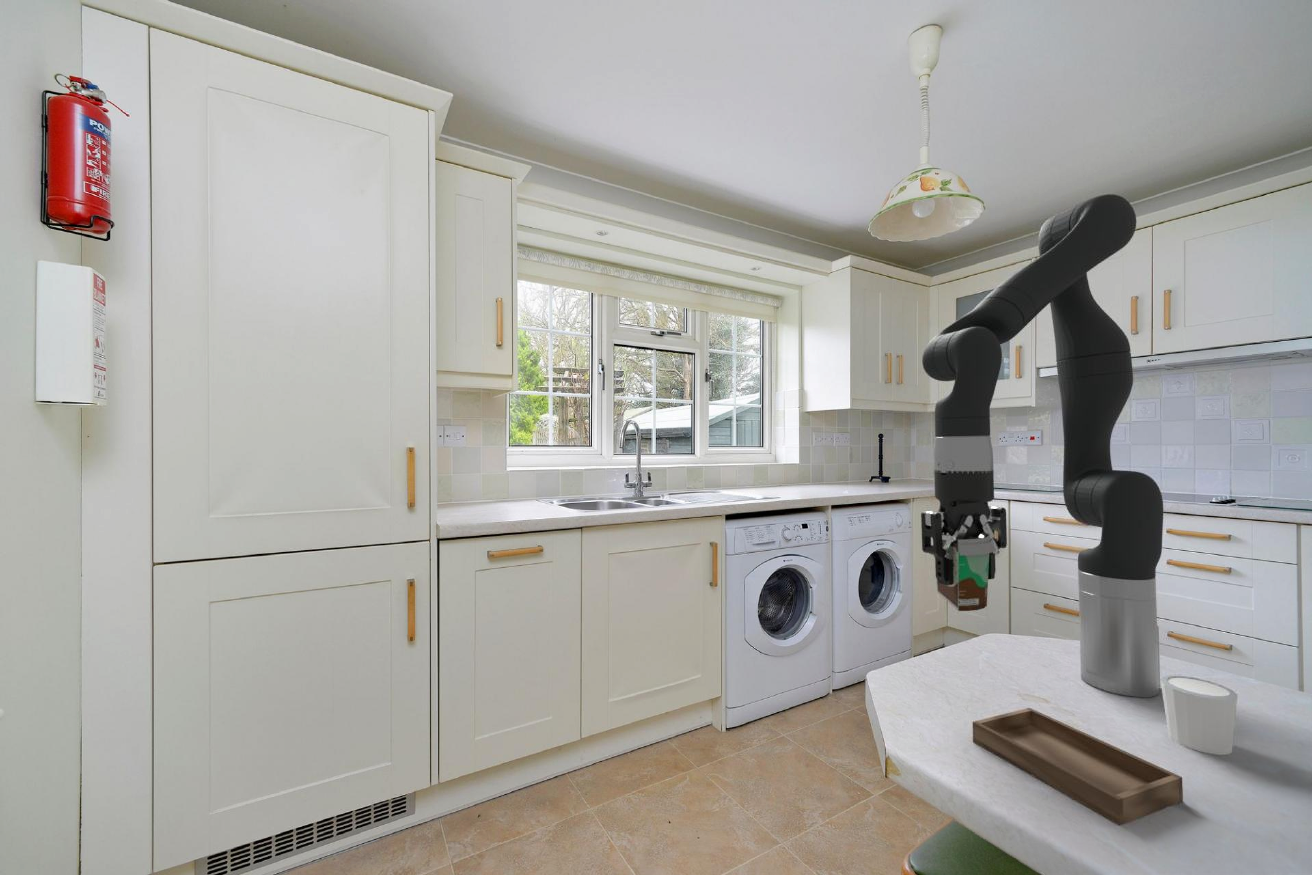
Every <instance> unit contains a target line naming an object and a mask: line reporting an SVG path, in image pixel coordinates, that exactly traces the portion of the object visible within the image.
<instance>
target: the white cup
mask: <svg viewBox="0 0 1312 875" xmlns="http://www.w3.org/2000/svg"><path fill="white" fill-rule="evenodd" d="M1160 688H1161V693H1162V700H1163V705H1164V706H1163V707H1164V712H1165V721H1166V726H1167V727H1166V728H1167V734H1168V737H1169V738H1170V739H1171V740H1173V741H1174V742H1176V743H1177V744H1179V745H1182V746H1184V747H1186V748H1188V749H1192V750H1195V751H1198V752H1200V753H1205V754H1211V755H1218V756H1219V755H1220V756H1227V755H1230V754H1232V752H1233V742H1234V735H1235V726H1236V715H1237V704H1238V696H1239V694H1238V693H1236V692H1235V691H1234V690H1233V689H1231V688H1229V687H1226V686H1224V685H1222V684H1219V683H1216V682H1212V681H1210V680H1205V679H1200V678H1197V677H1191V676H1185V675H1165V676H1162V677H1160Z"/></svg>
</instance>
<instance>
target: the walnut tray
mask: <svg viewBox="0 0 1312 875" xmlns="http://www.w3.org/2000/svg"><path fill="white" fill-rule="evenodd" d="M972 742H973V743H974V744H976V745H978V746H980V747H982V748H983V749H985V750H987V751H988V752H990V753H992V754H994V755H995V756H997V757H999V758H1000V759H1003V761H1006V762H1008V763H1009V764H1011V765H1013V766H1015V767H1016V768H1018V769H1020V770H1021V771H1024V772H1025V773H1027V774H1028V775H1030V776H1032V777H1034V778H1036V779H1037V780H1040V781H1041V782H1042V783H1043V784H1046V785H1048V786H1049V787H1052V789H1055V790H1056V791H1058V792H1060V793H1062V794H1063V795H1065V796H1067V797H1068V798H1071V799H1073V800H1074V801H1076V802H1077V803H1079V804H1081V805H1083V806H1085V807H1086V808H1088V809H1090V810H1091V811H1093V812H1095V813H1097V814H1099V815H1100V816H1102V817H1104V818H1106V819H1107V820H1109V821H1110V822H1112V823H1114V824H1116V825H1118V826H1122V825H1125V824H1127V823H1130V822H1133V821H1135V820H1138V819H1140V818H1143V817H1145V816H1148V815H1151V814H1153V813H1157V812H1159V811H1161V810H1164V809H1166V808H1169V807H1171V806H1174V805H1177V804H1180V803H1183V802H1184V797H1183V796H1184V792H1183V791H1184V790H1183V786H1184V785H1183V777H1182V776H1181V775H1178V774H1177V773H1175V772H1171V771H1170V770H1168V769H1165V768H1163V767H1160V766H1158V765H1156V764H1154V763H1152V762H1149V761H1147V760H1146V759H1143V758H1141V757H1139V756H1137V755H1134V754H1132V753H1130V752H1128V751H1126V750H1124V749H1121V748H1119V747H1117V746H1115V745H1112V744H1110V743H1108V742H1106V741H1104V740H1101V739H1099V738H1097V737H1095V736H1092V735H1091V734H1088V733H1085V732H1084V731H1081V730H1080V729H1077V728H1075V727H1073V726H1070V725H1068V724H1066V723H1064V722H1062V721H1059V720H1057V719H1055V718H1053V717H1051V716H1048V715H1046V714H1045V713H1042V712H1039V711H1038V710H1036V709H1033V708H1031V707H1027V708H1022V709H1018V710H1015V711H1011V712H1007V713H1003V714H999V715H994V716H991V717H987V718H982V719H979V720H975V721H972Z"/></svg>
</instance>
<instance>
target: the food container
mask: <svg viewBox="0 0 1312 875" xmlns="http://www.w3.org/2000/svg"><path fill="white" fill-rule="evenodd" d="M981 535H983V533H981ZM946 536H950V535H949V534H948V533H947V534H946ZM983 536H984V535H983ZM946 546H947V544H945V545H944V547H943V549H945V548H946ZM994 551H995V549H994V545H993V542H992V539H991V538H990V536H989V534H988V533H987V537H985V538H972V537H970V538H968V539H963V540H958V543H953V555H952V557H951V558H950V559H953V573H954V583H953V585H945V584H941V583H939V582H938V581H937V578H936V577H935V579H936V592H937V594H939V595H940V596H941V597H942V598H943V600H945V601H947V602H948V603H949V604H950V605H951V606H952V607H953V608H954V609H956V611H958V612H972V611H979V610H983V609H985V608H986V607H987V606H988V589H989V588H988V585H989V584H988V583H989V580H988V570H989V553H991V552H994Z"/></svg>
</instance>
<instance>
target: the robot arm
mask: <svg viewBox="0 0 1312 875" xmlns="http://www.w3.org/2000/svg"><path fill="white" fill-rule="evenodd" d="M1136 228H1137V215H1136V212H1135V210H1134V207H1133V206H1132V204H1131V203H1130V202H1129V200H1127V199H1126V198H1125V197H1123V196H1121V195H1117V194H1114V193H1113V194H1111V193H1109V194H1103V195H1102V194H1101V195H1098V196H1093V197H1091V198H1089V199H1087V200H1085V201H1083V202H1081V203H1078V204H1076V205H1074V206H1071V207H1069V208H1067V209H1066V210H1064V211H1063V210H1062V211H1061V212H1059V213H1057V214H1053V215H1052V216H1051V217H1049V218H1048V219H1047V220H1046V221H1045V222H1044V223H1043V224H1042V225H1041V227H1040V231H1039V233H1038V240H1037V241H1038V244H1037V246H1038V254H1039V257H1038V258H1036V259H1034V260H1032V261H1031V262H1030V263H1028V264H1027V265H1024V266H1023V267H1022V268H1020V269H1019V270H1016V272H1015V273H1013V274H1011V275H1010V276H1009V277H1007V278H1005V279H1004V280H1003V281H1002V282H1001V283H999V284H998V285H997V286H996V287H995V288H994V289H993V290H991V291H990V293H988V294H987V295H986V296H985V297H984V298H983V299H982V300H981V301H980V302H979V303H978V304H977V305H976V306H975V307H974V308H973V309H971V310H970V311H968V313H966V314H965V315H963V316H962V317H959V318H958V319H957V320H955V321H954V322H952V323H951V324H949V325H948V326H946V327H945V328H944V329H942V330H941V331H940V332H938V333H937V334H936V335H935V336H933V337H932V338H931V340H930V341H929V342H928V343H927V345H926V346H925V349H924V350H923V353H922V358H921V360H922V361H921V362H922V368H923V371H924V373H926V374H927V375H928V376H929V377H930V378H932V379H933V380H935V381H938V382H954V384H953V387H952V390H951V392H950V393H949V394H948V395H946V396H944V397H942V398H940V399H939V400H938V401H937V402H936V403H935V407H934V433H935V434H934V437H935V439H934V446H933V448H934V449H933V471H934V472H933V474H934V475H933V476H934V478H933V479H934V497H935V499H936V500H938V501H939V507H938V511H929V510H928V511H927V510H923V511H922V512H921V514H920V515H921V516H920V518H921V519H920V520H921V522H920V523H921V526H920V527H921V548H922V552H923V553H926V554H930V555H933V556H934V564H935V565H934V566H935V570H934V571H935V579H936V578H937V579H936V582H937V581H938V582H939V583H941V584H945V585H953V583H954V573H953V559H950V558H951V557H952V555H953V543H958V540H963V539H968V538H970V537H972V538H985V537H987V533H988V534H989V536H990V538H991V539H992V542H993V545H994V549H995V551H994V552H991V553H989V570H988V581H989V580H994V579H995V577H996V575H995V574H996V572H997V571H996V570H997V569H996V554H998V552H999V550H1000V549H1006V548H1007V545H1008V542H1007V541H1008V540H1007V538H1008V536H1007V535H1008V532H1007V509H1006V507H1003V506H1002V507H1001V506H990V505H989V503H990V502H992V501H993V500H994V499H995V482H994V481H995V480H994V479H995V477H994V474H995V472H994V451H993V445H992V437H991V411H990V410H991V404H992V402H993V398H994V394H995V391H996V386H997V383H998V379H999V376H1000V371H1001V367H1002V363H1003V362H1002V361H1003V352H1002V346H1001V345H1003V344H1005V343H1007V342H1009V341H1011V340H1012V339H1013V338H1015V337H1016V336H1018V334H1019V333H1021V331H1022V330H1023V329H1024V328H1025V327H1026V326H1027V325H1028V324H1030V323H1031V322H1032V320H1034V319H1035V318H1036V316H1038V315H1039V313H1041V312H1042V311H1043V310H1044V309H1045V308H1046V307H1047V306H1048V305H1049V306H1050V312H1051V320H1052V326H1053V327H1052V328H1053V336H1054V341H1055V342H1054V344H1055V356H1056V357H1055V358H1056V361H1055V362H1056V368H1057V369H1056V370H1057V379H1058V387H1059V394H1060V402H1061V404H1060V405H1061V416H1062V419H1061V420H1062V430H1063V465H1062V466H1063V471H1062V472H1063V473H1062V477H1063V478H1062V481H1063V482H1062V489H1063V490H1062V491H1063V493H1062V494H1063V500H1064V504H1065V507H1066V510H1067V512H1068V513H1069V514H1070V516H1071V518H1073V519H1074V520H1075V521H1077V522H1078V523H1081V524H1083V525H1087V526H1091V527H1097V528H1101V537H1100V542H1099V544H1097V546H1095V547H1093V548H1087V549H1083V550H1081V551H1080V552H1079V553H1078V556H1077V575H1078V576H1077V577H1078V578H1077V579H1078V581H1077V582H1078V609H1079V610H1078V614H1079V619H1078V620H1079V647H1080V648H1079V649H1080V650H1079V654H1080V655H1079V657H1080V677H1081V679H1082V680H1083V681H1084V682H1085V683H1087V684H1089V685H1091V686H1093V687H1095V688H1098V689H1100V690H1104V691H1106V692H1110V693H1114V694H1118V695H1121V696H1127V697H1128V696H1129V697H1137V698H1149V697H1151V698H1152V697H1155V696H1157V695H1159V692H1160V688H1161V667H1160V666H1161V664H1160V659H1161V658H1160V628H1159V625H1158V613H1157V611H1158V610H1157V587H1156V586H1157V584H1156V583H1157V581H1156V576H1157V574H1156V573H1157V570H1156V569H1157V566H1158V563H1159V562H1160V559H1161V557H1162V551H1163V532H1164V531H1163V530H1164V499H1163V494H1162V491H1161V489H1160V486H1159V485H1158V484H1157V482H1156V480H1154V479H1153V478H1152V477H1151V476H1149V475H1148V474H1146V473H1143V472H1140V471H1136V470H1135V471H1134V470H1121V469H1120V470H1119V469H1117V470H1116V469H1113V466H1112V455H1111V440H1112V439H1111V438H1112V434H1113V430H1114V428H1115V425H1116V423H1117V421H1118V420H1119V417H1120V415H1121V413H1122V411H1123V410H1124V408H1125V405H1126V403H1127V401H1128V399H1129V397H1130V395H1131V392H1132V389H1133V385H1134V373H1133V372H1134V370H1133V362H1132V352H1131V346H1130V345H1131V344H1130V341H1129V338H1128V337H1127V335H1126V333H1125V332H1124V330H1122V328H1121V327H1120V326H1119V325H1118V324H1117V322H1115V321H1114V319H1113V318H1112V317H1110V316H1109V315H1108V313H1106V311H1105V310H1104V309H1102V308H1101V306H1100V305H1099V304H1098V303H1097V302H1096V299H1095V297H1094V296H1093V294H1092V292H1091V289H1090V284H1089V280H1088V279H1089V278H1088V272H1089V271H1091V270H1092V269H1093V268H1095V267H1097V266H1098V265H1099V264H1101V263H1103V261H1105V260H1108V259H1109V258H1111V256H1114V255H1115V254H1116V253H1118V252H1119V251H1121V250H1122V249H1123V248H1125V247H1126V245H1128V244H1129V243H1130V242H1131V240H1132V239H1133V237H1134V234H1135V232H1136ZM995 531H996V532H997V538H995V535H996V534H995ZM947 533H948V534H949V535H950V536H946V534H947ZM981 533H983V535H984V536H983V535H981ZM932 543H933V544H932ZM945 544H947V546H946V548H945V549H943V547H944V545H945Z"/></svg>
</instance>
